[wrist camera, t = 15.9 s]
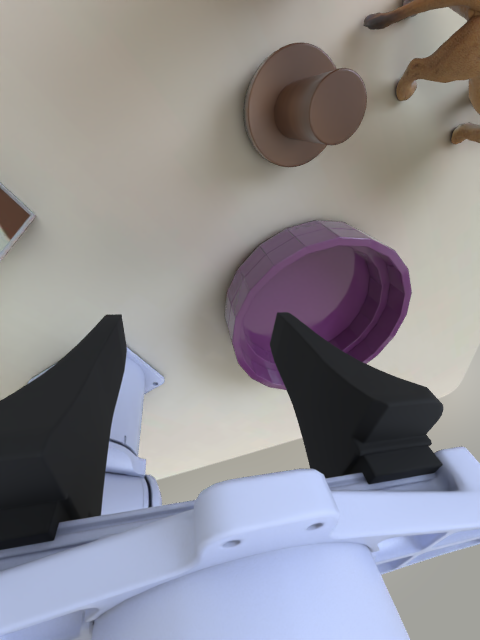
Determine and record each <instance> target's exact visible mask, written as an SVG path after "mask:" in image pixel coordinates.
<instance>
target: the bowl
mask: <svg viewBox="0 0 480 640" xmlns="http://www.w3.org/2000/svg"><path fill="white" fill-rule="evenodd" d="M411 291H412V290H411V284H410V277H409V271H408V268H407V267H406V265H405V264H404V262H403V261H402V260H401V258H400V257H399V256H398V254H397V253H396V251H395V250H393V249H392V248H390V247H388V246H387V245H385V244H383V243H382V242H380V241H378V240H377V239H375V238H373V237H371V236H370V235H368V234H366V233H365V232H363V231H361V230H359V229H357V228H355V227H353V226H351V225H349V224H347V223H345V222H335V221H320V220H317V221H316V220H315V221H311V222H307V223H304V224H300V225H296V226H293V227H289V228H287V229H284V230H283V231H281V232H279V233H278V234H276V235H275V236H273V237H271V238H270V239H268V240H266V241H265V242H263V243H262V244H260V246H258V247H257V248H256V249H255V250H254V251H253V252H252V254H251V255H250V256H249V257H248V258H247V259H246V260H245V261H244V262H243V264H242V265H241V266H240V267H239V268H238V270H237V272H236V274H235V276H234V279H233V281H232V283H231V285H230V287H229V289H228V291H227V298H226V308H225V319H226V322H227V326H228V330H229V333H230V337H231V341H232V344H233V348H234V351H235V355H236V358H237V361H238V364H239V365H240V366H241V367H242V368H243V369H244V371H245V372H246V373H247V374H248V375H249V376H250V377H251V378H252V379H254V380H256V381H258V382H260V383H262V384H264V385H266V386H268V387H271V388H277V389H284V390H286V387H285V385H284V383H283V381H282V378H281V376H280V374H279V371H278V369H277V367H276V364H275V362H274V359H273V355H272V351H271V347H270V341H271V336H272V332H273V328H274V323H275V319H276V315H277V312H289V313H290V314H292V315H293V316H295V317H296V318H297V319H299V320H300V321H301V322H302V323H304V324H305V325H306V326H308V327H309V328H310V329H311V330H313V331H314V332H315V333H317V334H318V335H319V336H321V337H322V338H323V339H325V340H326V341H328V342H329V343H331V344H332V345H334V346H335V347H337V348H338V349H340V350H341V351H343V352H345V353H347V354H348V355H350V356H352V357H354V358H355V359H357V360H359V361H361V362H363V363H365V364H367V363H368V362H369V361H371V360H372V359H373V358H375V357H376V356H377V355H378V354H379V353H380V352H381V351H382V350H383V349H384V347H385V346H386V345H387V344H388V343H389V342H390V341H391V340H392V339H393V337H394V336H395V335H396V333H397V331H398V329H399V327H400V326H401V324H402V322H403V320H404V318H405V317H406V314H407V311H408V306H409V302H410V298H411V293H412V292H411Z"/></svg>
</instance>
